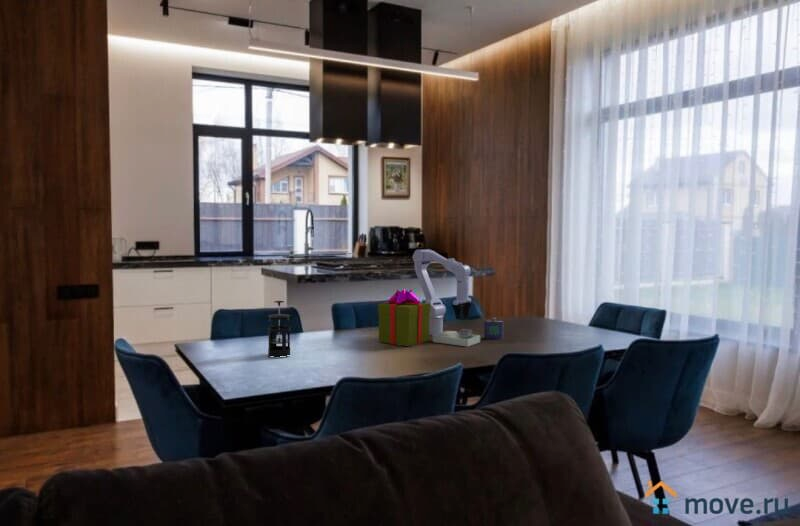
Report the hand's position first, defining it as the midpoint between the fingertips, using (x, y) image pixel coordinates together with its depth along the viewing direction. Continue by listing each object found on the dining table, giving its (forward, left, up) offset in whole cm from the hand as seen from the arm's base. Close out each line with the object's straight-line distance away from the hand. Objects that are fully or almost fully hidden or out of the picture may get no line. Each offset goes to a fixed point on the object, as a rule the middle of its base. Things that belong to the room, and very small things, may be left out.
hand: (462, 318), depth 278 cm
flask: (+12, +10, -11) cm, 19 cm away
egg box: (-2, -9, -10) cm, 14 cm away
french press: (-45, -77, -11) cm, 90 cm away
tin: (+7, -9, -10) cm, 15 cm away
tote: (+2, -9, -10) cm, 14 cm away
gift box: (-19, -22, -11) cm, 31 cm away
